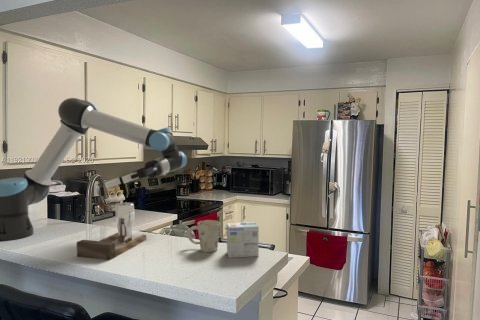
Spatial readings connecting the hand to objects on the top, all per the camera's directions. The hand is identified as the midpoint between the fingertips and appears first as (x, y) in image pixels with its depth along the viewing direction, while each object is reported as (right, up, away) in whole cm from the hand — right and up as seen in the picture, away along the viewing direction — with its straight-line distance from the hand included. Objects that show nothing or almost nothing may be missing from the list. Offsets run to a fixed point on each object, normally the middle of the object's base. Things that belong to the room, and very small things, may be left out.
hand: (113, 182), depth 137 cm
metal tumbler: (+4, -23, +2) cm, 24 cm away
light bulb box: (+50, -25, -12) cm, 57 cm away
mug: (+35, -24, -7) cm, 43 cm away
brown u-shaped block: (+2, -24, -6) cm, 24 cm away
